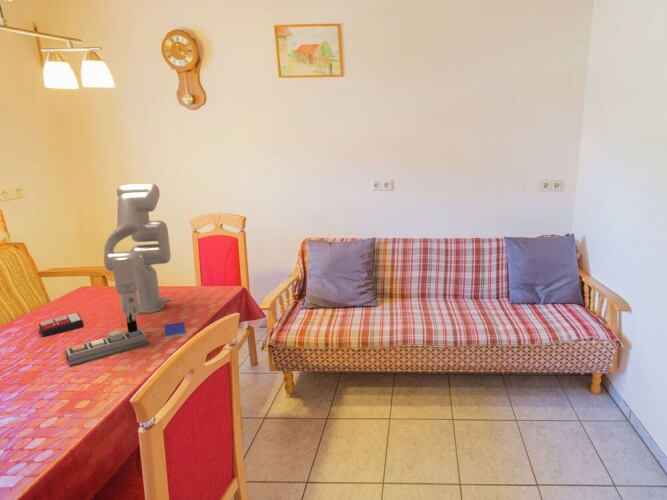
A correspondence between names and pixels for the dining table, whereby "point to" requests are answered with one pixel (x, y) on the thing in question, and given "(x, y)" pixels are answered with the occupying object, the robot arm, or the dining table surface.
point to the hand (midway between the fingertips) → (132, 330)
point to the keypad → (106, 348)
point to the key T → (133, 333)
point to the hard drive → (174, 330)
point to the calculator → (61, 324)
